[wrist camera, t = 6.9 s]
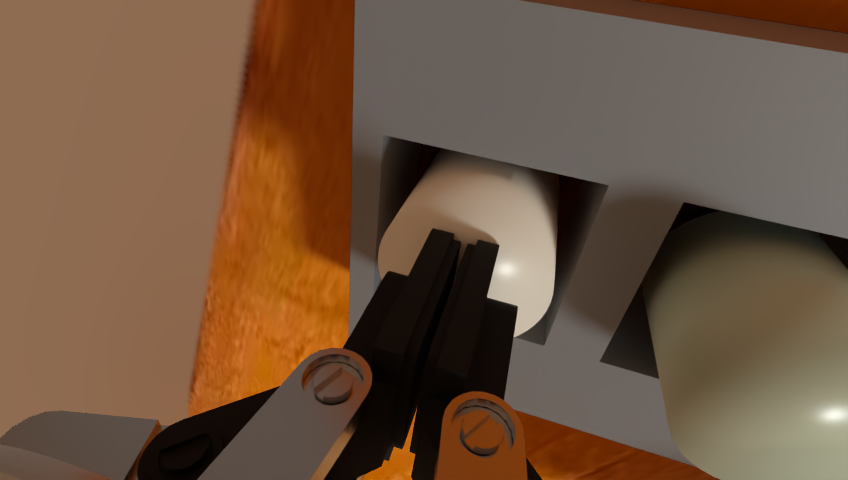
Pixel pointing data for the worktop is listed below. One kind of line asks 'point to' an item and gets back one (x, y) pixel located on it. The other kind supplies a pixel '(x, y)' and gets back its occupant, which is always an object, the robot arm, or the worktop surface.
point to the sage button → (752, 348)
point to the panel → (599, 159)
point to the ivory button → (485, 225)
